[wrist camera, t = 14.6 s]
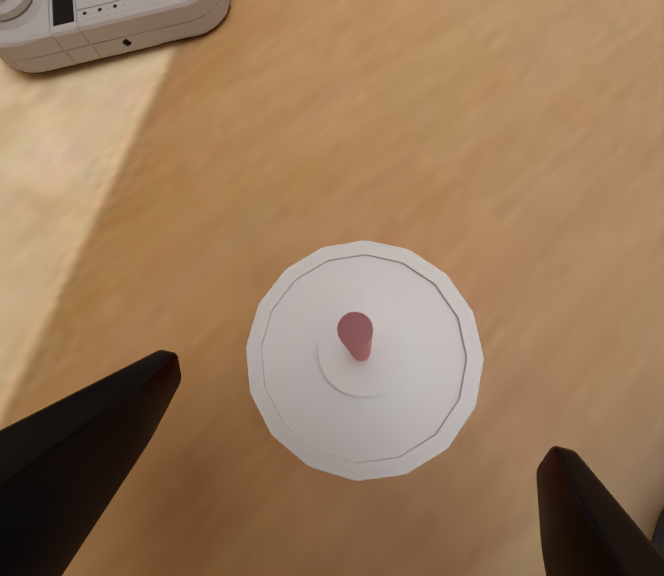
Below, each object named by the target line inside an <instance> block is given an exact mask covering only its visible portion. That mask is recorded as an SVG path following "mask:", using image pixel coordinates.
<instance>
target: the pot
mask: <svg viewBox="0 0 664 576" xmlns="http://www.w3.org/2000/svg"><path fill="white" fill-rule="evenodd" d="M652 544H653V545H654V546H655V548H656V549H657V550H658V551H659V552H660V554H661V555H662V556H663V557H664V512H663V514H662V516H661V518H660V520H659V522H658V525H657V528H656V531H655V534H654V538H653V543H652Z"/></svg>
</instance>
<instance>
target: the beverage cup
mask: <svg viewBox="0 0 664 576" xmlns="http://www.w3.org/2000/svg"><path fill="white" fill-rule="evenodd" d="M246 351H247V363H248V375H249V386H250V393H251V395H252V397H253V399H254V401H255V403H256V405H257V407H258V409H259V411H260V413H261V415H262V417H263V419H264V421H265V423H266V425H267V427H268V429H269V431H270V433H271V435H272V436H273V437H275V438H276V439H277V440H278V441H279V442H280V443H282V444H283V445H284V446H285V447H286V448H288V449H289V450H290V451H291V452H292V453H293V454H295V455H296V456H297V457H298V458H299V459H300V460H302V461H303V462H304V463H305V464H306V465H307V466H309V467H312V468H315V469H318V470H322V471H325V472H328V473H332V474H335V475H338V476H341V477H345V478H348V479H351V480H354V481H360V480H368V479H376V478H384V477H391V476H399V475H406V474H407V473H409V472H411V471H412V470H414V469H416V468H417V467H419V466H420V465H422V464H424V463H425V462H427V461H428V460H430V459H432V458H433V457H435V456H436V455H438V454H440V453H441V452H443V451H444V450H446V449H448V447H449V446H450V444H451V443H452V441H453V440H454V438H455V437H456V435H457V434H458V432H459V431H460V429H461V428H462V426H463V425H464V423H465V422H466V420H467V419H468V417H469V416H470V414H471V413H472V411H473V410H474V408H475V407H476V401H477V395H478V389H479V384H480V378H481V372H482V367H483V361H484V357H483V353H482V349H481V344H480V340H479V336H478V331H477V327H476V323H475V318H474V314H473V311H472V310H471V308H470V307H469V306H468V304H467V303H466V301H465V300H464V298H463V297H462V296H461V294H460V293H459V291H458V290H457V289H456V287H455V286H454V284H453V283H452V281H451V280H450V279H449V277H448V276H447V274H445V273H444V272H442V271H441V270H439V269H438V268H436V267H435V266H433V265H432V264H430V263H429V262H427V261H426V260H424V259H423V258H421V257H420V256H418V255H417V254H415V253H414V252H412V251H410V250H409V249H405V248H400V247H395V246H391V245H386V244H381V243H377V242H372V241H367V240H364V241H358V242H352V243H346V244H339V245H333V246H327V247H323V248H321V249H319V250H317V251H316V252H314V253H312V254H311V255H309V256H307V257H306V258H304V259H302V260H301V261H299V262H297V263H295V264H294V265H292V266H290V267H289V268H287V269H286V270H285V271H284V272H283V273H282V275H281V276H280V277H279V279H278V280H277V281H276V282H275V284H274V285H273V286H272V287H271V289H270V290H269V291H268V293H267V294H266V295H265V296H264V298H263V299H262V300H261V302H260V303H259V305H258V308H257V312H256V315H255V318H254V322H253V325H252V328H251V332H250V335H249V338H248V342H247V345H246Z"/></svg>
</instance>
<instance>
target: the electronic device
mask: <svg viewBox="0 0 664 576" xmlns="http://www.w3.org/2000/svg"><path fill="white" fill-rule="evenodd" d="M229 4H230V0H0V58H1V59H2V60H3V61H4V62H5V63H7V64H8V65H10V66H11V67H12V68H14V69H16V70H20V71H24V72H28V73H37V72H45V71H50V70H54V69H58V68H62V67H67V66H71V65H75V64H77V63H78V64H79V63H84V62H88V61H92V60H96V59H100V58H105V57H109V56H113V55H117V54H122V53H126V52H130V51H134V50H139V49H143V48H147V47H151V46H156V45H159V44H161V43H165V42H169V41H173V40H178V39H182V38H186V37H190V36H192V37H193V36H197V35H200V34H204V33H207V32H208V31H210V30H211V29H213V28H214V27H216V26H217V25H218V24H219V23H220V22H221V21H222V19H223V18H224V17H225V16H226V14H227V11H228V7H229Z"/></svg>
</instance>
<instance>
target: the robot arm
mask: <svg viewBox="0 0 664 576" xmlns="http://www.w3.org/2000/svg"><path fill="white" fill-rule="evenodd" d="M180 381H181V372H180V366H179V360H178V356H177V354H176V353H174V352H170V351H166V350H159V351H156V352H154V353H152V354H150V355H148V356H146V357H144V358H142V359H140V360H138V361H136V362H134V363H133V364H131V365H129V366H127V367H125V368H123V369H121V370H119V371H117V372H115V373H113V374H111V375H109V376H107V377H105V378H103V379H101V380H99V381H97V382H95V383H93V384H91V385H89V386H87V387H85V388H83V389H81V390H79V391H77V392H75V393H73V394H71V395H69V396H67V397H65V398H63V399H61V400H59V401H57V402H55V403H53V404H51V405H49V406H47V407H45V408H43V409H42V410H40V411H38V412H36V413H34V414H32V415H30V416H28V417H26V418H24V419H22V420H20V421H18V422H16V423H14V424H12V425H10V426H8V427H6V428H4V429H2V430H0V576H62V574H63V573H64V571H65V570H66V568H67V567H68V565H69V564H70V562H71V561H72V559H73V558H74V556H75V555H76V553H77V551H78V550H79V548H80V547H81V545H82V544H83V542H84V541H85V539H86V538H87V536H88V535H89V533H90V532H91V530H92V529H93V527H94V526H95V524H96V522H97V521H98V519H99V518H100V516H101V515H102V513H103V512H104V510H105V509H106V507H107V506H108V504H109V503H110V501H111V500H112V498H113V497H114V495H115V493H116V492H117V490H118V489H119V487H120V486H121V484H122V483H123V481H124V480H125V478H126V477H127V475H128V474H129V472H130V471H131V469H132V467H133V466H134V464H135V463H136V461H137V460H138V458H139V457H140V455H141V454H142V452H143V451H144V449H145V448H146V446H147V444H148V443H149V441H150V440H151V438H152V436H153V434H154V432H155V431H156V429H157V427H158V425H159V423H160V421H161V419H162V417H163V415H164V413H165V411H166V409H167V407H168V406H169V404H170V402H171V400H172V398H173V396H174V394H175V392H176V390H177V388H178V386H179V384H180ZM537 491H538V505H539V520H540V534H541V545H542V553H543V560H544V565H545V571H546V576H664V557H663V556H662V555H661V554H660V552H659V551H658V550H657V549H656V548H655V546H654V545H653V544H652V543H651V542H650V540H649V539H648V538H647V537H646V536H645V534H644V533H643V532H642V531H641V530H640V528H639V527H638V526H637V525H636V524H635V522H634V521H633V520H632V519H631V518H630V516H629V515H628V514H627V513H626V512H625V510H624V509H623V508H622V507H621V506H620V504H619V503H618V502H617V501H616V500H615V498H614V497H613V496H612V495H611V494H610V492H609V491H608V490H607V489H606V488H605V486H604V485H603V484H602V483H601V482H600V480H599V479H598V478H597V477H596V476H595V474H594V473H593V472H592V471H591V470H590V468H589V467H588V466H587V465H586V464H585V462H584V461H583V460H582V459H581V458H580V456H579V455H578V454H577V453H576V452H575V451H573V450H570V449H566V448H562V447H558V446H554V447H552V448H551V449H550V450H549V452H548V453H547V454H546V456H545V457H544V459H543V460H542V462H541V463H540V465H539V466H538V469H537Z"/></svg>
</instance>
